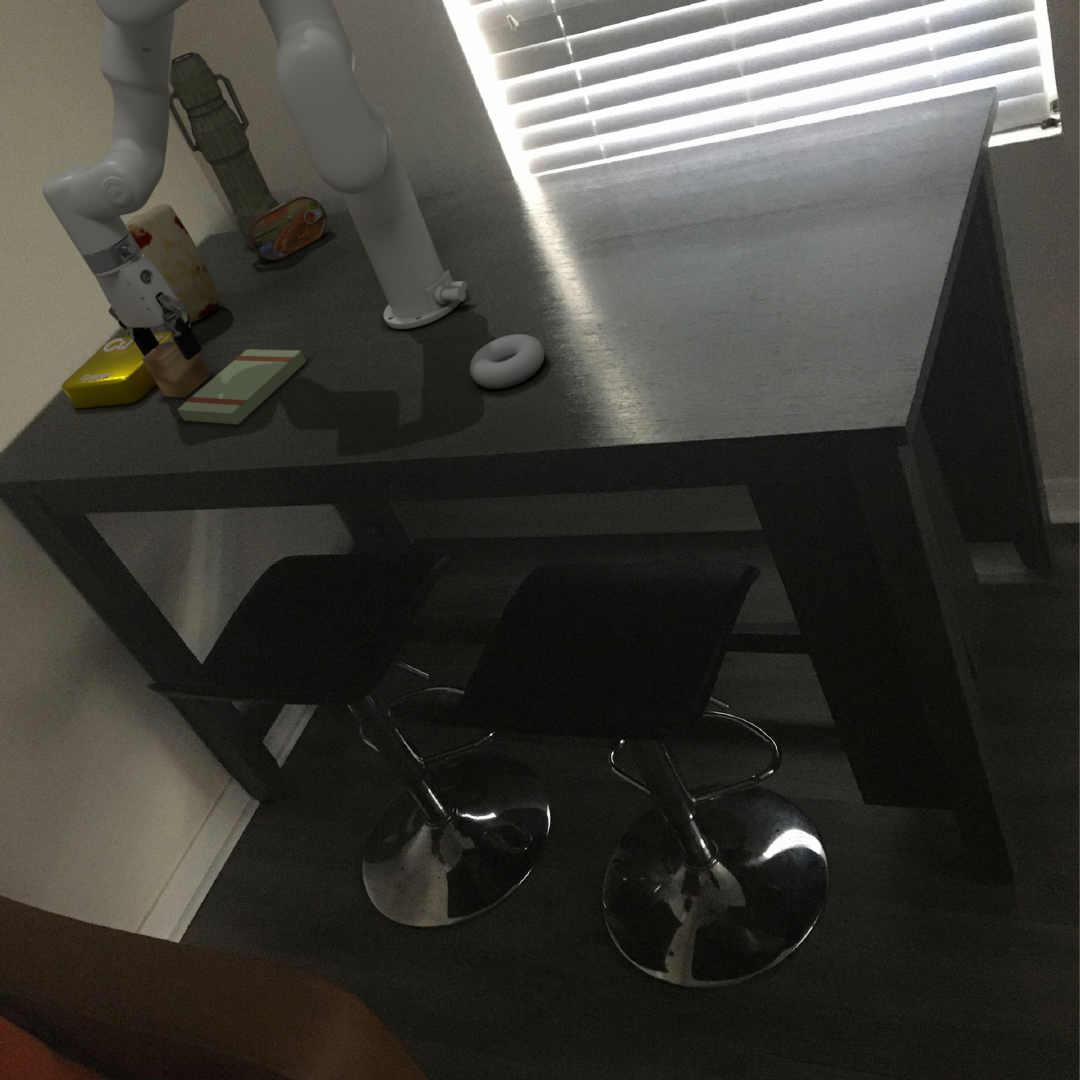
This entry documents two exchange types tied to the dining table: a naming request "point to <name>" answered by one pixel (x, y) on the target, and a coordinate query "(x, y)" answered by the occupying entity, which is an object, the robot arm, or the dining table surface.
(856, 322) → the dining table surface
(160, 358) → the block
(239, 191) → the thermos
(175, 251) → the food model
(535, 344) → the donut
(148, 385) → the element tile
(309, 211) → the tin
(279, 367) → the towel
